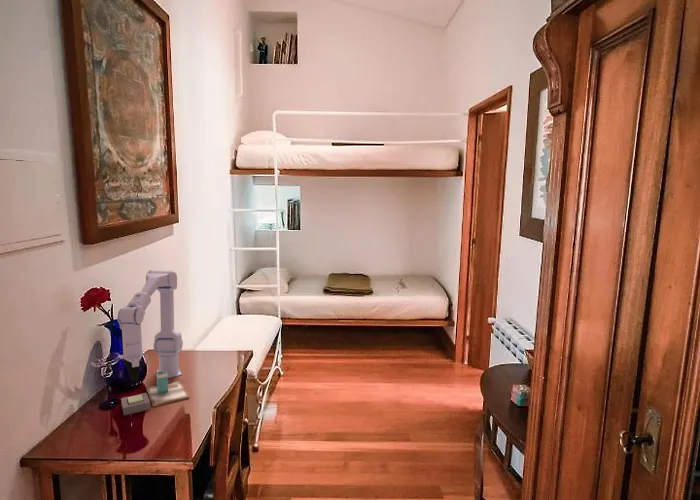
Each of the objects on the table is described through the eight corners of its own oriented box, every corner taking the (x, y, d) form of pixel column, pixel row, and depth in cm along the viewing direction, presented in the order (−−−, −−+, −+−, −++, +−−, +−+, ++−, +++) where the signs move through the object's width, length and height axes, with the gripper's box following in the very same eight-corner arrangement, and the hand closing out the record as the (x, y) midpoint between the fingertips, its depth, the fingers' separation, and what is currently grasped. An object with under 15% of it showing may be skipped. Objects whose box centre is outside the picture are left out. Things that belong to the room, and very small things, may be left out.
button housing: (121, 405, 146) (121, 398, 146) (146, 399, 151) (146, 392, 150) (123, 415, 140) (123, 408, 139) (150, 409, 144) (149, 401, 144)
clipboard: (146, 389, 159) (146, 386, 158) (179, 381, 165) (179, 378, 165) (153, 407, 145) (152, 403, 145) (189, 398, 152) (189, 395, 152)
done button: (127, 404, 146) (127, 397, 145) (141, 401, 148) (141, 394, 148) (129, 410, 142) (128, 402, 142) (143, 406, 144) (143, 399, 144)
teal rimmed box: (157, 390, 156) (156, 372, 155) (166, 388, 157) (165, 370, 157) (158, 394, 153) (157, 375, 152) (168, 391, 155) (167, 373, 154)
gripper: (116, 337, 146) (119, 374, 148) (120, 350, 134) (123, 391, 136) (139, 334, 150) (141, 370, 151) (145, 346, 138) (147, 385, 139)
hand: (134, 379), depth 144 cm, fingers closed
